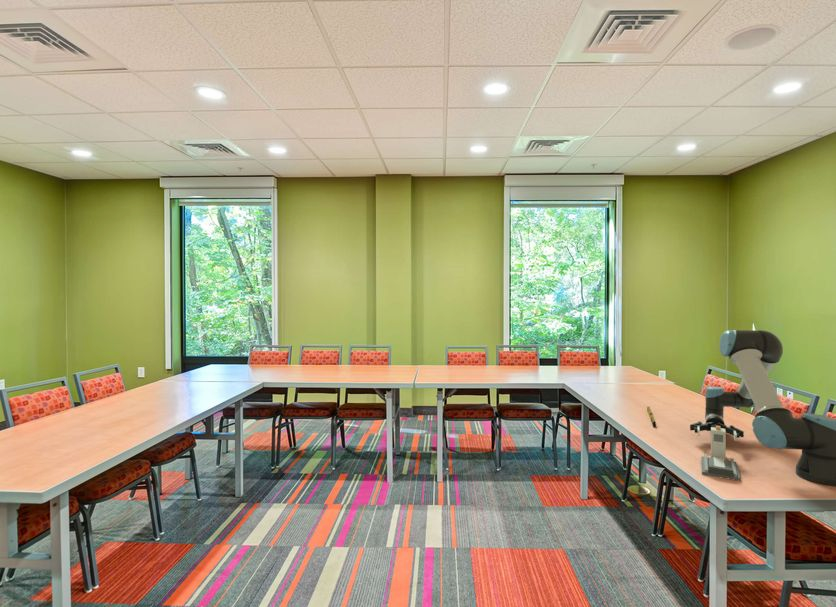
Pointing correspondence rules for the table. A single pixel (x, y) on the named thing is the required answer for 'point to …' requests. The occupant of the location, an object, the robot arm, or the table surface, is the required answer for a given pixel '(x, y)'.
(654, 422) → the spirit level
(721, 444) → the din module
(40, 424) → the table surface
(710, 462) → the rail board
